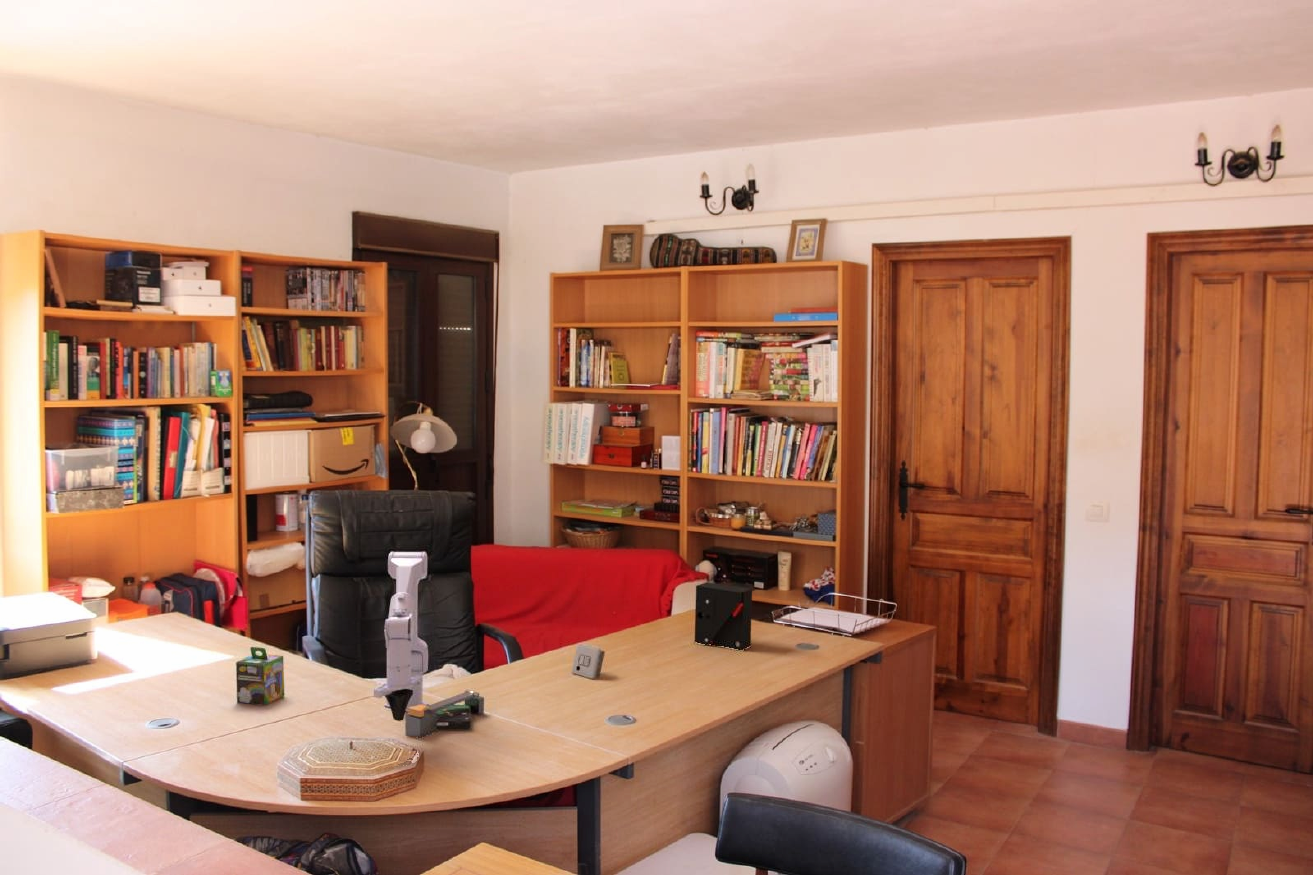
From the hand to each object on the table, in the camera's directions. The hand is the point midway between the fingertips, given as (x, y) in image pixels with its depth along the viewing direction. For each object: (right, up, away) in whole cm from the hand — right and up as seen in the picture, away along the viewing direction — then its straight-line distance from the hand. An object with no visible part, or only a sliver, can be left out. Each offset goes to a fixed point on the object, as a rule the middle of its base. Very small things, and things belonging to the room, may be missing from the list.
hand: (398, 719), depth 262 cm
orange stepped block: (+4, 0, +6) cm, 7 cm away
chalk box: (-45, -3, +31) cm, 55 cm away
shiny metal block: (+9, -5, +15) cm, 18 cm away
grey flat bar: (+10, 0, +16) cm, 19 cm away
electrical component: (+86, -2, +101) cm, 133 cm away
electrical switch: (+42, -3, +62) cm, 75 cm away
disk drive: (+10, -5, +16) cm, 20 cm away
